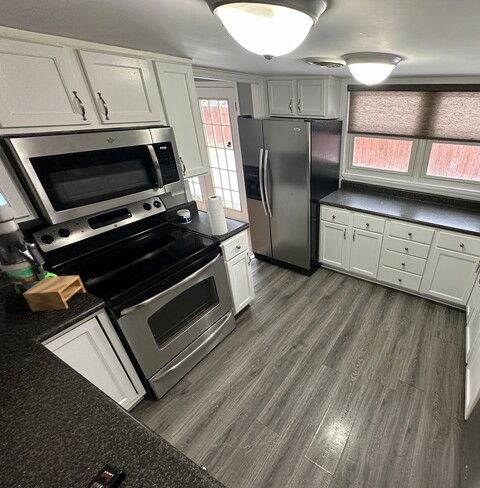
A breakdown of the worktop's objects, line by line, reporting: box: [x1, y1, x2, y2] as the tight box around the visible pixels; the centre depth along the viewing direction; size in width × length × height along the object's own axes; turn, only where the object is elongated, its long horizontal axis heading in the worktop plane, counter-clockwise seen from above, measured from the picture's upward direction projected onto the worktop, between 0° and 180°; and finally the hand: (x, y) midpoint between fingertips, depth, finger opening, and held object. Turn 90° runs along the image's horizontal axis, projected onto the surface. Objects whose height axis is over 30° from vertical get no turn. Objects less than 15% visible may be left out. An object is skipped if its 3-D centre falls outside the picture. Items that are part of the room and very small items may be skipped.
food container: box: [0, 258, 45, 286], centre depth 112 cm, size 12×6×10 cm, turn 163°
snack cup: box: [14, 270, 58, 294], centre depth 132 cm, size 16×10×10 cm
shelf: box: [22, 274, 87, 312], centre depth 127 cm, size 14×14×10 cm
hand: (32, 279), depth 114 cm, fingers closed on food container, 7 cm apart
